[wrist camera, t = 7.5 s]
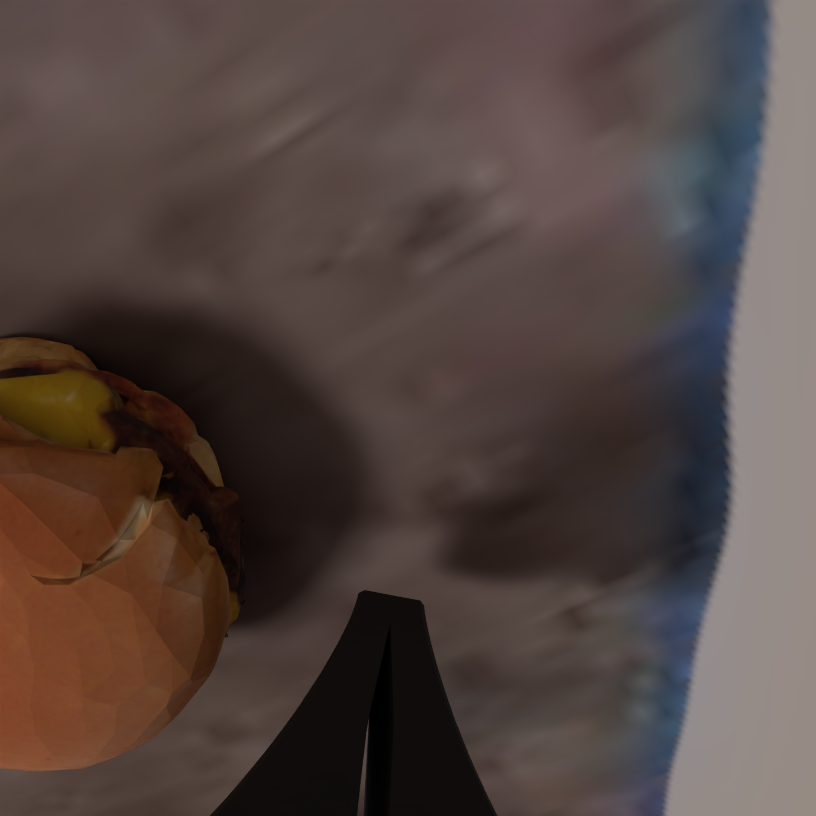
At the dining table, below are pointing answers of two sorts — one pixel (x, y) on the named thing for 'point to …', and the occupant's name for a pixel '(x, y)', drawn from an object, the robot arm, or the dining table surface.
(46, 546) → the burger
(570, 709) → the dining table surface
